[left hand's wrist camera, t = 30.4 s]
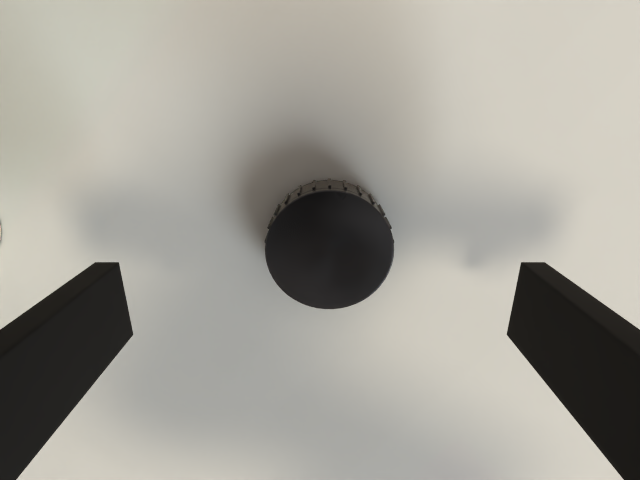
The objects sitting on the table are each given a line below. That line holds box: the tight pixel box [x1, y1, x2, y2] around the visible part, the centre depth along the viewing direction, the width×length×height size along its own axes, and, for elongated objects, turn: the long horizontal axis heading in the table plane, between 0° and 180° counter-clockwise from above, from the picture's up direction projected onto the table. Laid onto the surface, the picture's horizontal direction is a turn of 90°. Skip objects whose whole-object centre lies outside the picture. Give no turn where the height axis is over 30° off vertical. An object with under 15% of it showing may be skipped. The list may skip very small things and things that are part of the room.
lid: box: [265, 179, 394, 309], centre depth 16 cm, size 5×5×2 cm
